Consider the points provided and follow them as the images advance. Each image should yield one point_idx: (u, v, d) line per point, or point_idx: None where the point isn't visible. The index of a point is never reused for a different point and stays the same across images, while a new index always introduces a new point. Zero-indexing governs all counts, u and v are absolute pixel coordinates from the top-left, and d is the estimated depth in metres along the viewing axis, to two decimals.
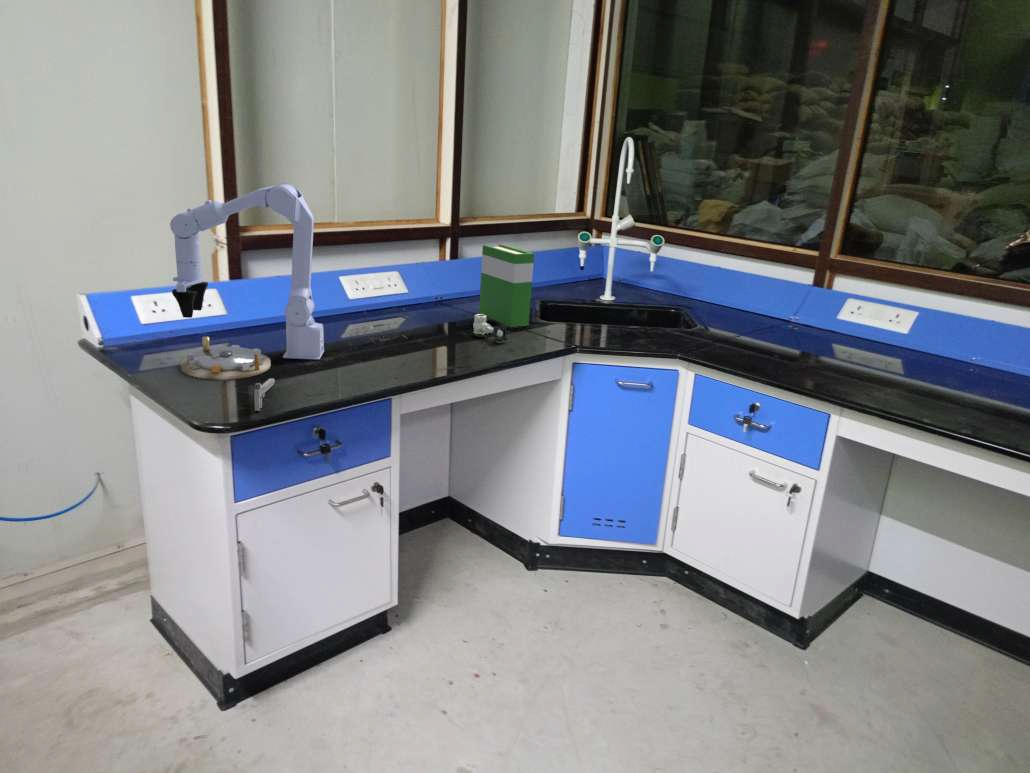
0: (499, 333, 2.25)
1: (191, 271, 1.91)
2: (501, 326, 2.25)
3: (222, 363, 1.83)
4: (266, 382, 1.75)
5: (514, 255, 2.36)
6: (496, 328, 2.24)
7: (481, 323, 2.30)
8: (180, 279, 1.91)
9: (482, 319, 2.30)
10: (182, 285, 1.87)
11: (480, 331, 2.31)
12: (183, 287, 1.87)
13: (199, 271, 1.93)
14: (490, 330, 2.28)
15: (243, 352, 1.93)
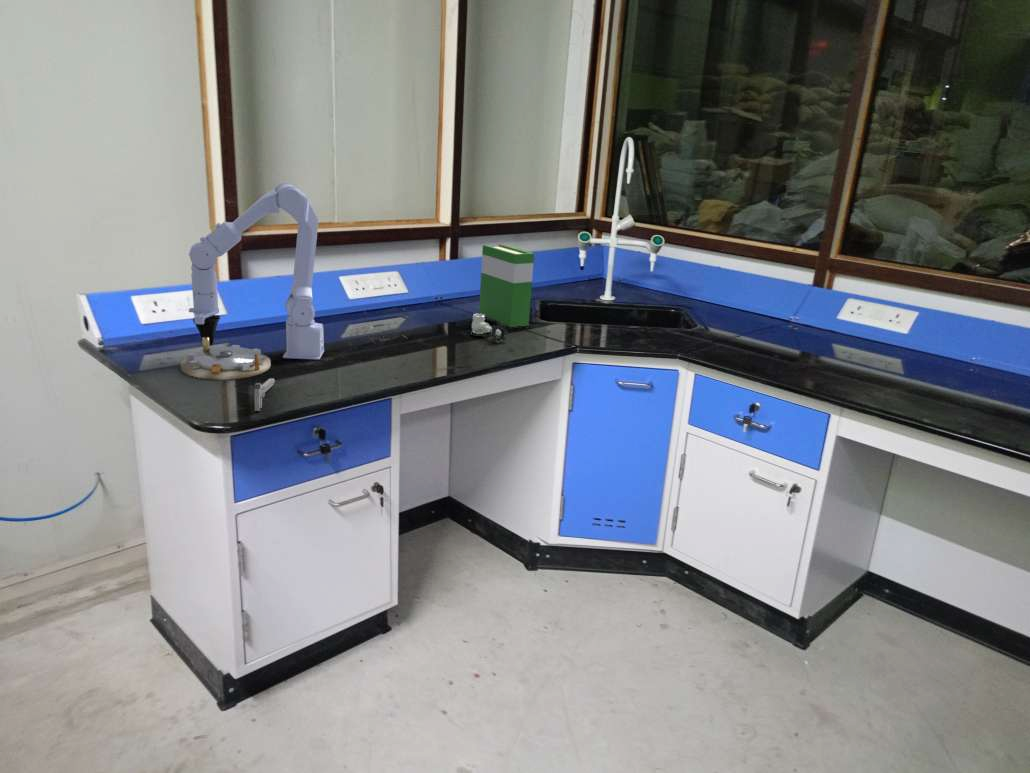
0: (497, 332, 2.26)
1: (208, 302, 1.87)
2: (499, 325, 2.25)
3: (222, 363, 1.83)
4: (266, 382, 1.75)
5: (514, 255, 2.36)
6: (495, 327, 2.24)
7: (479, 322, 2.31)
8: (197, 310, 1.87)
9: (480, 318, 2.31)
10: (200, 317, 1.83)
11: (478, 330, 2.32)
12: (201, 319, 1.84)
13: (216, 302, 1.89)
14: (488, 329, 2.28)
15: (243, 352, 1.93)
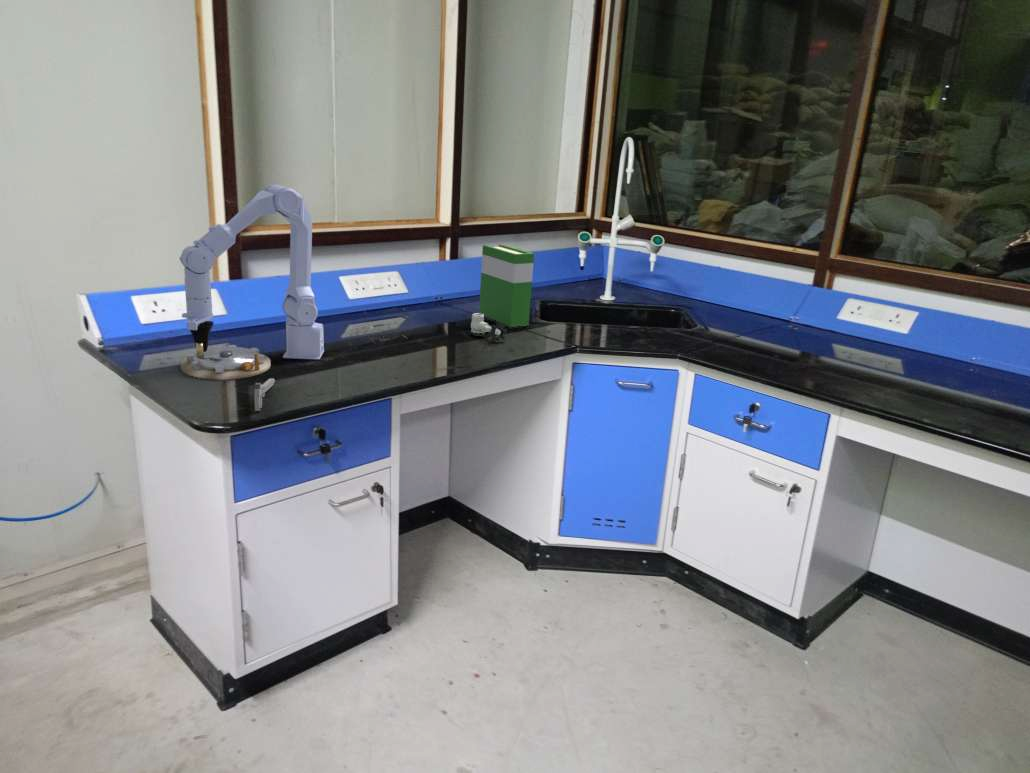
0: (497, 332, 2.26)
1: (202, 307, 1.81)
2: (499, 325, 2.26)
3: (245, 360, 1.87)
4: (266, 382, 1.75)
5: (514, 255, 2.36)
6: (494, 327, 2.24)
7: (479, 322, 2.31)
8: (190, 316, 1.82)
9: (480, 318, 2.31)
10: (193, 323, 1.78)
11: (478, 330, 2.32)
12: (194, 325, 1.78)
13: (210, 307, 1.84)
14: (488, 329, 2.29)
15: (229, 349, 1.94)
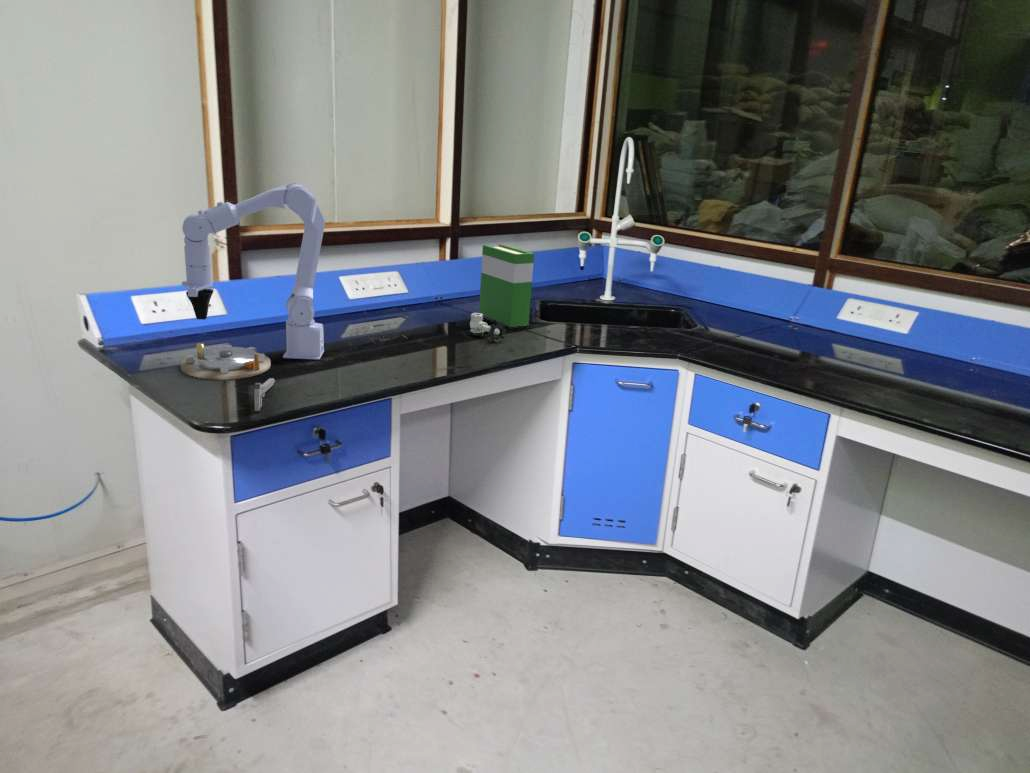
0: (496, 331, 2.27)
1: (202, 275, 1.85)
2: (498, 324, 2.26)
3: (248, 359, 1.87)
4: (266, 382, 1.75)
5: (514, 255, 2.36)
6: (493, 326, 2.25)
7: (478, 322, 2.32)
8: (190, 283, 1.86)
9: (479, 318, 2.31)
10: (194, 290, 1.82)
11: (477, 330, 2.32)
12: (195, 292, 1.82)
13: (210, 275, 1.88)
14: (487, 329, 2.29)
15: (226, 349, 1.94)
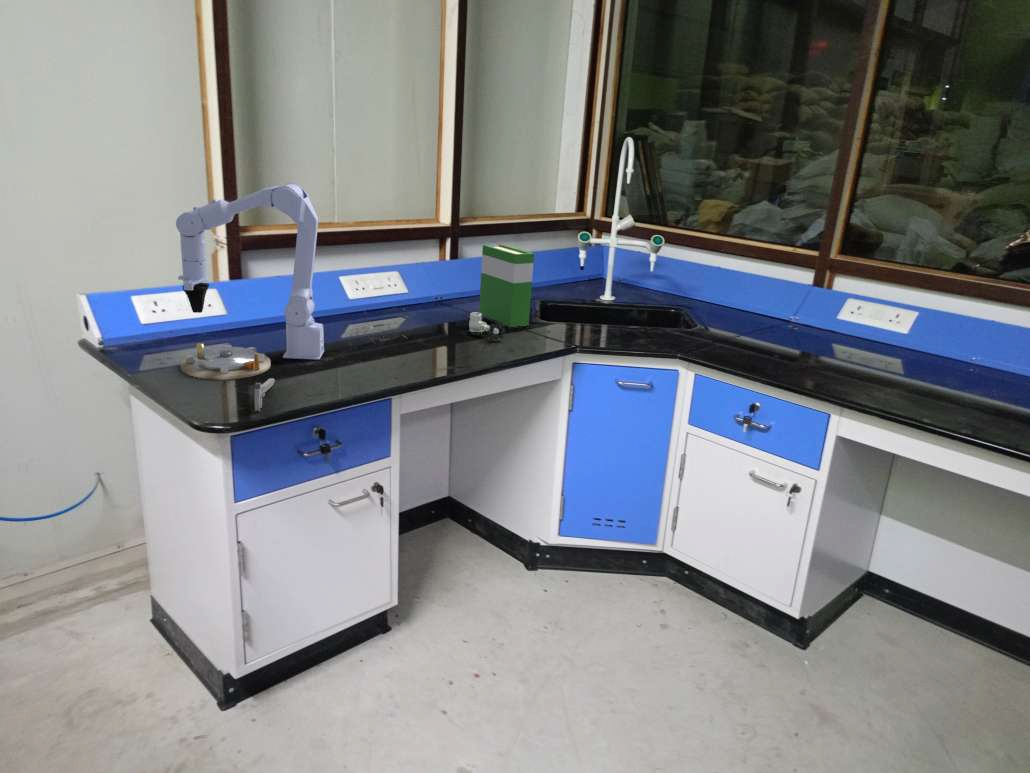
0: (495, 331, 2.27)
1: (197, 269, 1.91)
2: (497, 324, 2.27)
3: (248, 359, 1.87)
4: (266, 382, 1.75)
5: (514, 255, 2.36)
6: (492, 326, 2.25)
7: (477, 321, 2.32)
8: (186, 277, 1.92)
9: (478, 317, 2.32)
10: (189, 283, 1.88)
11: (476, 329, 2.33)
12: (190, 285, 1.88)
13: (205, 270, 1.93)
14: (486, 328, 2.29)
15: (226, 349, 1.94)
